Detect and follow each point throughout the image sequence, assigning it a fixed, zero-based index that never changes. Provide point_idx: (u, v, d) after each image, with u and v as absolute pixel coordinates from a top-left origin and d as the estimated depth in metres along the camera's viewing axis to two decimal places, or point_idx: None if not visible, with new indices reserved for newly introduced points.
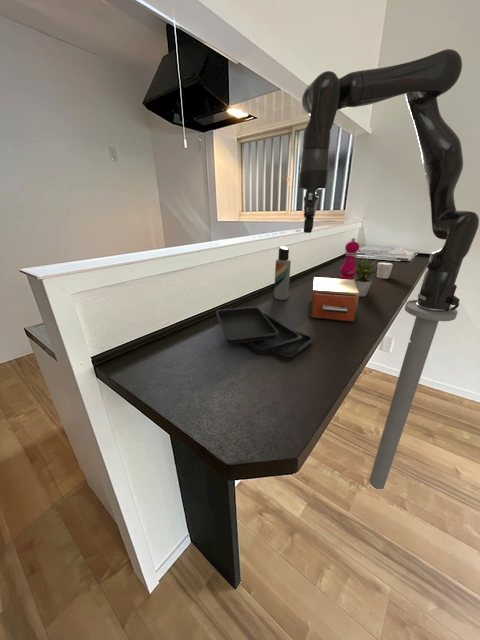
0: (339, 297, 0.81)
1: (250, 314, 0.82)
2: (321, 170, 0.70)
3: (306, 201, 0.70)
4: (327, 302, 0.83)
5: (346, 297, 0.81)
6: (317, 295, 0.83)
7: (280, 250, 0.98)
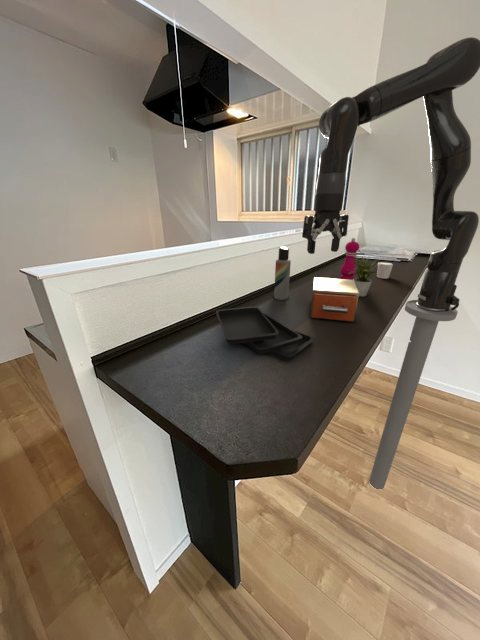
0: (339, 297, 0.81)
1: (250, 314, 0.82)
2: (325, 194, 0.70)
3: (304, 224, 0.74)
4: (327, 302, 0.83)
5: (346, 297, 0.81)
6: (317, 295, 0.83)
7: (280, 250, 0.98)
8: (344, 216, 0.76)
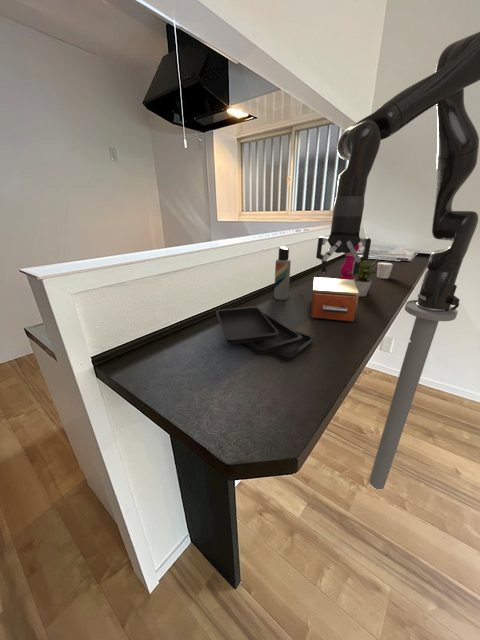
0: (339, 297, 0.81)
1: (250, 314, 0.82)
2: (335, 216, 0.70)
3: None
4: (327, 302, 0.83)
5: (346, 297, 0.81)
6: (317, 295, 0.83)
7: (280, 250, 0.98)
8: (366, 239, 0.71)
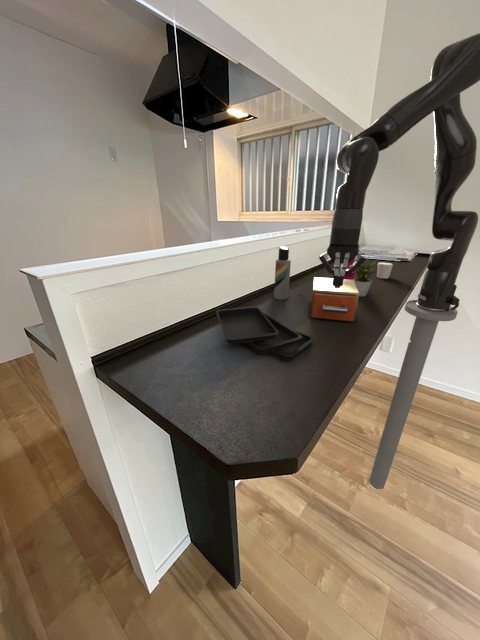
0: (339, 297, 0.81)
1: (250, 314, 0.82)
2: (334, 228, 0.71)
3: None
4: (327, 302, 0.83)
5: (346, 297, 0.81)
6: (317, 295, 0.83)
7: (280, 250, 0.98)
8: (361, 257, 0.73)
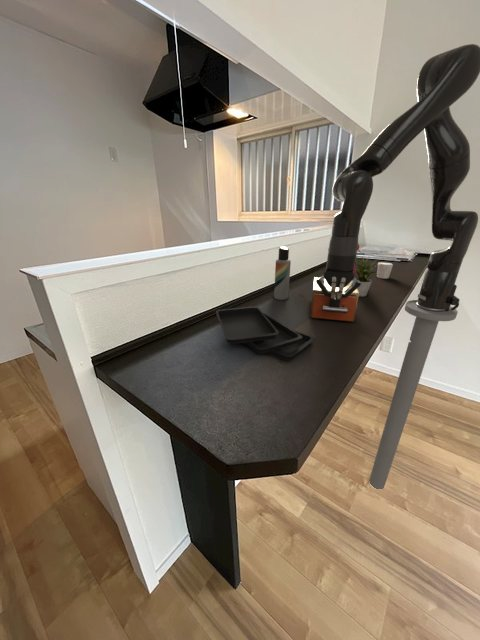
0: None
1: (250, 314, 0.82)
2: (330, 254, 0.73)
3: None
4: (327, 302, 0.83)
5: None
6: (317, 295, 0.83)
7: (280, 250, 0.98)
8: (357, 282, 0.75)
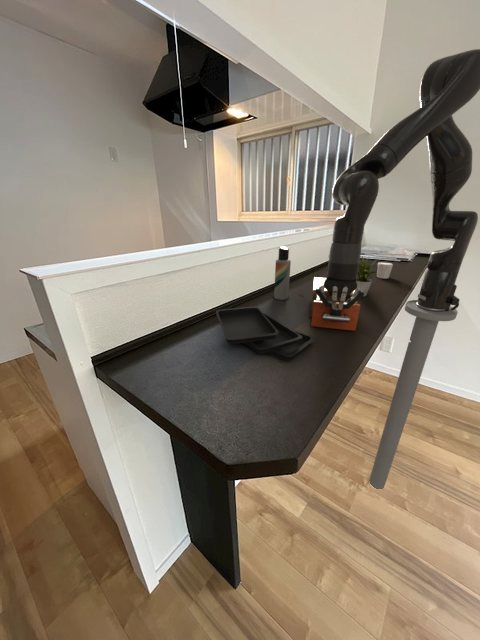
0: None
1: (250, 314, 0.82)
2: (331, 262, 0.67)
3: None
4: (327, 310, 0.77)
5: None
6: (317, 302, 0.77)
7: (280, 250, 0.98)
8: (360, 292, 0.69)
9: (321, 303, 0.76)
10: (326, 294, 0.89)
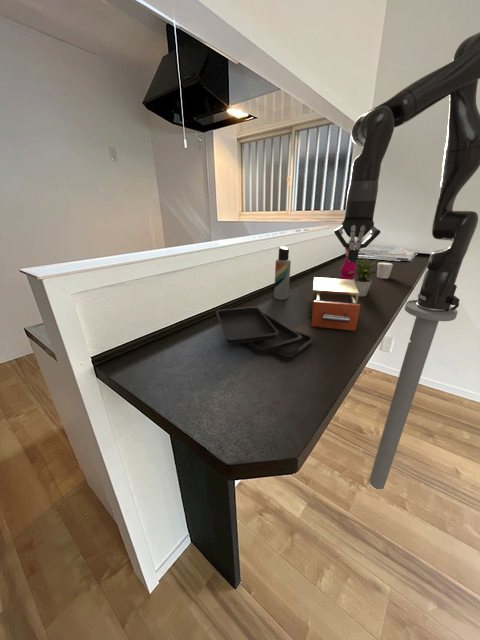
0: (340, 305, 0.75)
1: (250, 314, 0.82)
2: (350, 201, 0.72)
3: None
4: (327, 310, 0.77)
5: (348, 305, 0.74)
6: (317, 302, 0.77)
7: (280, 250, 0.98)
8: (376, 230, 0.74)
9: (321, 303, 0.76)
10: (326, 294, 0.89)
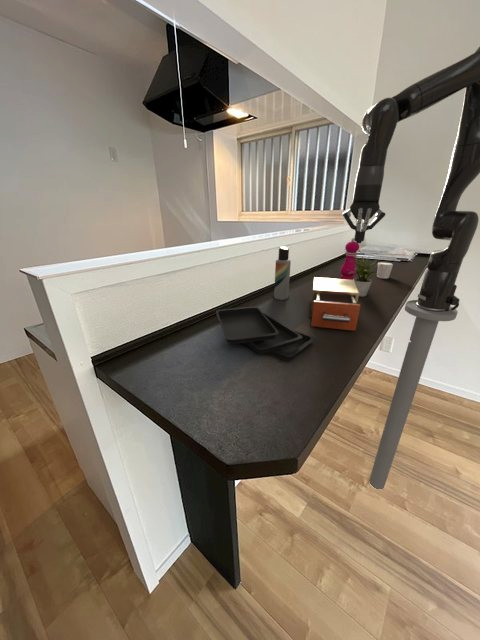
0: (340, 305, 0.75)
1: (250, 314, 0.82)
2: (358, 185, 0.79)
3: (345, 219, 0.86)
4: (327, 310, 0.77)
5: (348, 305, 0.74)
6: (317, 302, 0.77)
7: (280, 250, 0.98)
8: (382, 212, 0.81)
9: (321, 303, 0.76)
10: (326, 294, 0.89)
